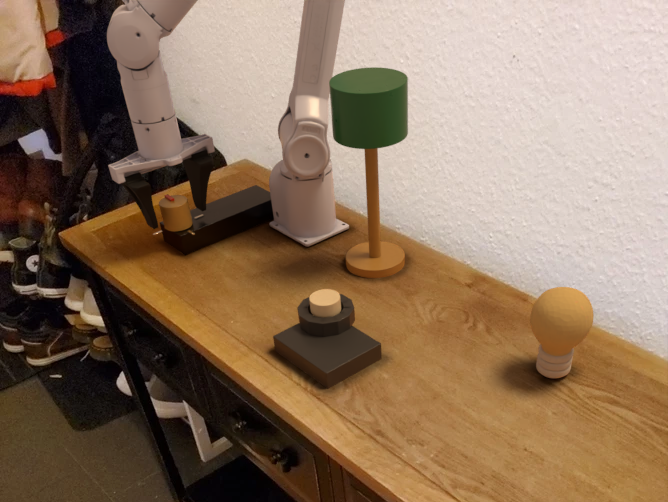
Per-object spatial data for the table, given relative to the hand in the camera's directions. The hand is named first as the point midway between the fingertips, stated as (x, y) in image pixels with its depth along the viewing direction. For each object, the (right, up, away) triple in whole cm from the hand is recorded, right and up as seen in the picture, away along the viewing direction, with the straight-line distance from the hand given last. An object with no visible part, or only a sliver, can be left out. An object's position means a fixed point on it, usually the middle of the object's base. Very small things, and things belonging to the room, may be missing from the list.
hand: (177, 217), depth 104 cm
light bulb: (+47, -25, -22) cm, 58 cm away
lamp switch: (+22, -17, -18) cm, 33 cm away
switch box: (+22, -22, -17) cm, 36 cm away
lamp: (+28, -8, -4) cm, 29 cm away
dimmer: (+4, 0, +5) cm, 7 cm away
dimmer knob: (0, -1, +1) cm, 1 cm away
